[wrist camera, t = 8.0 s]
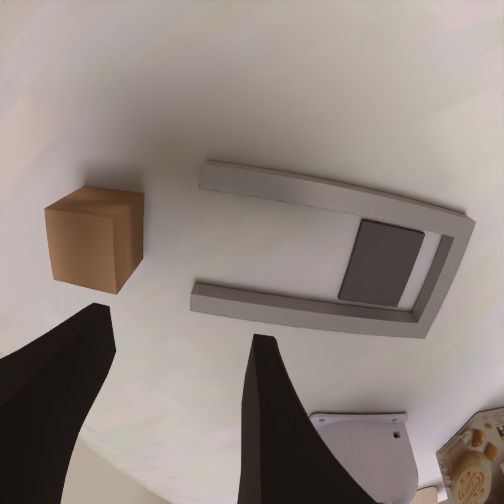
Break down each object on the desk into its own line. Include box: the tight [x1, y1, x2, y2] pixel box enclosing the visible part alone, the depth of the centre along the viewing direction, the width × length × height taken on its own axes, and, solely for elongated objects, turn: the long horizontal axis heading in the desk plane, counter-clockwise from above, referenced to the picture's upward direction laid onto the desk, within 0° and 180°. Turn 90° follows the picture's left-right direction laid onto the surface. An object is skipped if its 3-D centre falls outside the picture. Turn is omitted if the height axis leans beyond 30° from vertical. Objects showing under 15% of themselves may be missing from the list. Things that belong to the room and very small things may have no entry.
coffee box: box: [436, 408, 504, 504], centre depth 19 cm, size 9×6×16 cm
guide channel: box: [190, 160, 476, 339], centre depth 17 cm, size 15×8×1 cm, turn 81°
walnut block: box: [44, 187, 144, 295], centre depth 15 cm, size 4×4×4 cm
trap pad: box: [338, 219, 425, 307], centre depth 17 cm, size 4×5×1 cm
